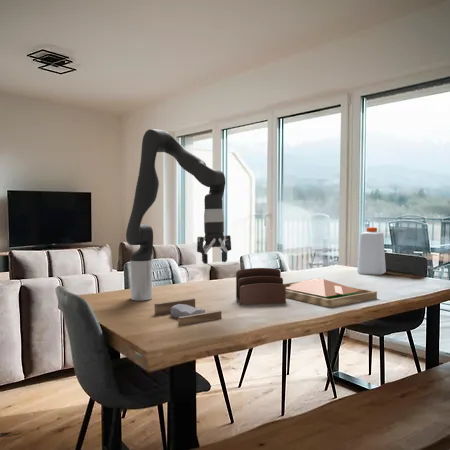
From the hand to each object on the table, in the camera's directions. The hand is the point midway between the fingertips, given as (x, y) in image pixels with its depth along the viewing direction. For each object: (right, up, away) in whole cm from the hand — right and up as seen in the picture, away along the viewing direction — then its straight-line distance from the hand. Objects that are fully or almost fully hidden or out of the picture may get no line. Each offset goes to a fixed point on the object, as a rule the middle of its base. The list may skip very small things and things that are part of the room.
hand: (214, 262), depth 171 cm
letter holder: (+19, -19, +19) cm, 33 cm away
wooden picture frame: (+47, -18, +31) cm, 59 cm away
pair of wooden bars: (-10, -19, -7) cm, 23 cm away
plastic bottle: (+94, -15, +100) cm, 138 cm away
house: (+47, -18, +32) cm, 60 cm away
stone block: (-9, -20, -7) cm, 23 cm away
